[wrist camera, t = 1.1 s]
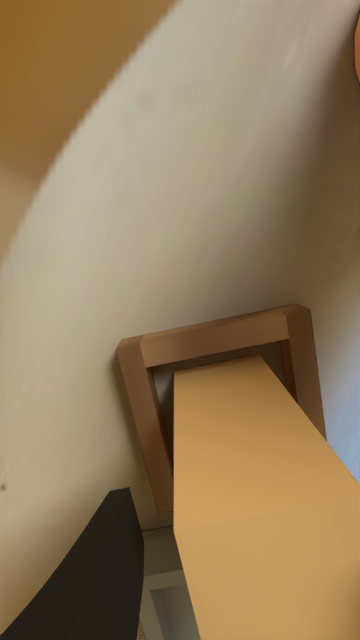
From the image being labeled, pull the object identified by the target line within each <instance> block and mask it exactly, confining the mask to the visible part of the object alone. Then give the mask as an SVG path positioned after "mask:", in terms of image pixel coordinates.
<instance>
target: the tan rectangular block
mask: <svg viewBox="0 0 360 640" xmlns="http://www.w3.org/2000/svg"><path fill="white" fill-rule="evenodd" d="M174 534H175V538H176V542H177V546H178V550H179V554H180V558H181V562H182V566H183V570H184V574H185V578H186V582H187V586H188V590H189V594H190V598H191V602H192V606H193V610H194V614H195V618H196V622H197V626H198V630H199V634H200V638H201V640H360V485H359V483H358V482H357V481H356V479H355V478H354V477H353V475H352V474H351V473H350V472H349V470H348V469H347V468H346V466H345V465H344V464H343V462H342V461H341V460H340V459H339V457H338V456H337V455H336V453H335V452H334V451H333V449H332V448H331V447H330V446H329V444H328V443H327V442H326V440H325V439H324V438H323V436H322V435H321V434H320V433H319V431H318V430H317V429H316V427H315V426H314V425H313V423H312V422H311V421H310V420H309V418H308V417H307V416H306V414H305V413H304V412H303V410H302V409H301V408H300V407H299V405H298V404H297V403H296V401H295V400H294V399H293V397H292V396H291V395H290V394H289V392H288V391H287V390H286V388H285V387H284V386H283V384H282V383H281V382H280V381H279V379H278V378H277V377H276V375H275V374H274V373H273V371H272V370H271V369H270V368H269V366H268V365H267V364H266V362H265V361H264V360H263V358H262V357H261V356H260V355H255V356H250V357H245V358H240V359H235V360H230V361H225V362H220V363H215V364H210V365H205V366H200V367H195V368H190V369H185V370H180V371H175V372H174Z"/></svg>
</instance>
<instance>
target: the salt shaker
mask: <svg viewBox="0 0 360 640" xmlns="http://www.w3.org/2000/svg"><path fill="white" fill-rule="evenodd" d="M354 39H355V70H356V73H357V76H358V79H359V82H360V15H359V19H358V23H357V27H356V31H355V36H354Z"/></svg>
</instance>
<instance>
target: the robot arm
mask: <svg viewBox="0 0 360 640" xmlns="http://www.w3.org/2000/svg"><path fill="white" fill-rule="evenodd" d="M143 581H144V539H143V536H142V532H141V528H140V525H139V521H138V517H137V514H136V510H135V506H134V503H133V499H132V496H131V492H130V488H129V487H128V488H123V489H118V490H113V491H110V492H109V493H108V494H107V496H106V497H105V499H104V500H103V502H102V503H101V505H100V506H99V508H98V509H97V511H96V513H95V514H94V516H93V517H92V519H91V520H90V522H89V523H88V525H87V526H86V528H85V529H84V531H83V532H82V534H81V535H80V537H79V538H78V539H77V541H76V542H75V544H74V545H73V547H72V548H71V550H70V551H69V552H68V554H67V555H66V557H65V558H64V559H63V561H62V562H61V563H60V565H59V566H58V567H57V569H56V570H55V571H54V573H53V574H52V575H51V577H50V578H49V579H48V581H47V582H46V583H45V585H44V586H43V587H42V588H41V590H40V591H39V592H38V593H37V594H36V596H35V597H34V598H33V599H32V601H31V602H30V603H29V604H28V605H27V606H26V608H25V609H24V610H23V611H22V612H21V613H20V614H19V616H18V617H17V618H16V619H15V620H14V621H13V622H12V624H11V625H10V626H9V627H8V628H7V629H6V630H5V631H4V632H3V633H2V634H1V635H0V640H136V639H137V631H138V623H139V615H140V607H141V598H142V590H143Z"/></svg>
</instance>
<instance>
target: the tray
mask: <svg viewBox="0 0 360 640" xmlns="http://www.w3.org/2000/svg"><path fill="white" fill-rule="evenodd" d="M142 536H143V539H144V581H143V590H142V598H141V607H140V615H139V617H140V621H141V624H142V627H143V631H144V634H145V638H146V640H201V638H200V634H199V630H198V626H197V622H196V618H195V614H194V610H193V606H192V602H191V598H190V594H189V590H188V586H187V582H186V578H185V574H184V570H183V566H182V562H181V558H180V554H179V550H178V546H177V542H176V538H175V534H174V526H170V527H165V528H160V529H154V530H149V531H144V532H142Z"/></svg>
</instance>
